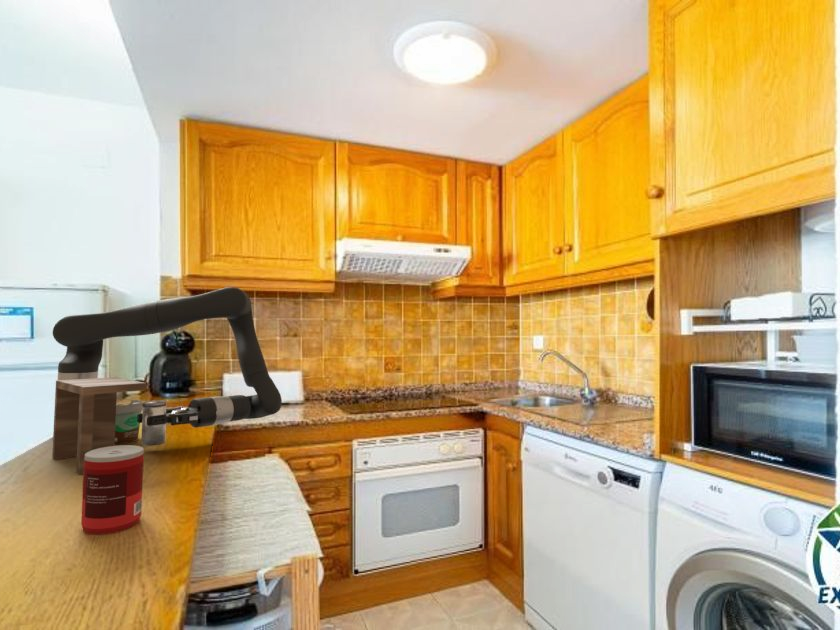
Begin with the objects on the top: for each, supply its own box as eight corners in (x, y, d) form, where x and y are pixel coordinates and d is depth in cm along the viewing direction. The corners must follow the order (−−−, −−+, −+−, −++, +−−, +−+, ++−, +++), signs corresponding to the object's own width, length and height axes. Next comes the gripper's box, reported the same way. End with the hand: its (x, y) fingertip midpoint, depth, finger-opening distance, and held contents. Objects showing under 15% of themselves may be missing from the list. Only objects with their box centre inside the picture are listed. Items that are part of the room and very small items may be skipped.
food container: (124, 446, 118) (125, 406, 118) (100, 446, 118) (101, 406, 118) (153, 436, 130) (154, 399, 131) (131, 435, 130) (132, 399, 131)
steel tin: (137, 443, 114) (138, 402, 114) (159, 439, 118) (161, 399, 118) (146, 447, 110) (147, 404, 111) (169, 443, 114) (170, 401, 115)
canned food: (130, 510, 76) (132, 442, 77) (149, 523, 71) (152, 450, 72) (73, 524, 70) (76, 451, 71) (90, 540, 65) (94, 460, 66)
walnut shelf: (52, 458, 106) (55, 380, 106) (112, 449, 115) (115, 377, 116) (79, 474, 95) (83, 387, 95) (143, 462, 104) (146, 382, 105)
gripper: (198, 394, 130) (130, 401, 117) (225, 399, 121) (156, 407, 108) (197, 421, 130) (129, 431, 116) (224, 428, 121) (154, 440, 108)
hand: (142, 419), depth 112 cm, fingers closed on steel tin, 5 cm apart
